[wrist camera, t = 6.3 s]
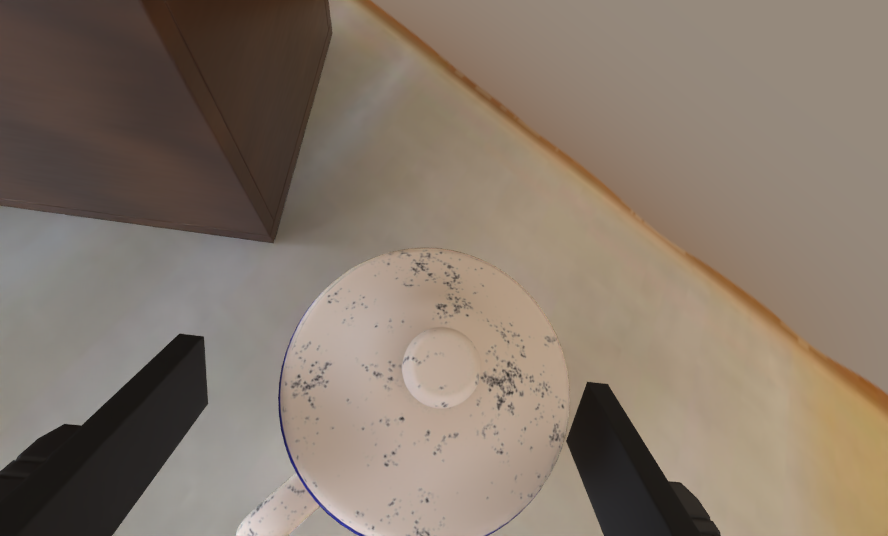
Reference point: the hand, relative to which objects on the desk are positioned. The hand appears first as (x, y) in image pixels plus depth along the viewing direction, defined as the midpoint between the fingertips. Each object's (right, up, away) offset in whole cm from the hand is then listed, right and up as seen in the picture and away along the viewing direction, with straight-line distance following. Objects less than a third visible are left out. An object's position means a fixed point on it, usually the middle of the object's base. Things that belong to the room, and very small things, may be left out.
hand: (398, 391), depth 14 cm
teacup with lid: (-1, -3, +6) cm, 7 cm away
